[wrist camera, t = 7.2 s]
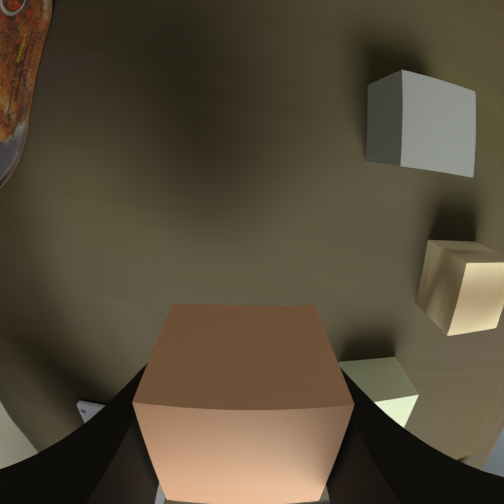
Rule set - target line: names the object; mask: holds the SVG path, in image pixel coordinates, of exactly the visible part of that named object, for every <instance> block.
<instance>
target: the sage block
mask: <svg viewBox="0 0 504 504" xmlns="http://www.w3.org/2000/svg"><path fill="white" fill-rule="evenodd" d="M339 366H340V367H341V369H342V370H343V371H344V372H345V373H346V374H347V375H348V376H349V377H350V378H351V379H352V380H353V381H354V382H355V383H356V385H357V386H358V387H359V388H360V389H361V390H362V391H363V392H364V393H365V394H366V395H367V396H368V397H369V398H370V399H371V400H372V401H373V402H374V403H375V404H376V405H377V406H379V407H380V408H381V409H382V410H383V411H384V412H385V413H386V414H387V415H389V416H390V417H391V418H392V419H393V420H394V421H396V422H397V423H398V424H399V425H401V426H402V427H403V428H404V426H405V424H406V422H407V420H408V417H409V415H410V413H411V411H412V409H413V406H414V404H415V402H416V400H417V397H418V395H419V394H418V393H417V391H416V390H415V388H414V386H413V385H412V383H411V381H410V380H409V378H408V377H407V375H406V373H405V372H404V370H403V369H402V367H401V365H400V364H399V362H398V361H397V359H396V357H388V358H378V359H367V360H356V361H342V362H339Z"/></svg>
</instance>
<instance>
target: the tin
mask: <svg viewBox="0 0 504 504" xmlns="http://www.w3.org/2000/svg"><path fill="white" fill-rule="evenodd" d="M52 7H53V0H0V188H1V187H2V186H3V185H4V184H5V183H6V182H7V181H8V179H9V178H10V176H11V175H12V173H13V172H14V170H15V168H16V167H17V165H18V163H19V160H20V158H21V155H22V153H23V150H24V147H25V144H26V140H27V136H28V130H29V122H30V114H31V107H32V101H33V94H34V88H35V83H36V78H37V73H38V68H39V64H40V60H41V56H42V52H43V48H44V44H45V40H46V37H47V33H48V30H49V26H50V22H51V17H52Z"/></svg>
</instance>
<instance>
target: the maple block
mask: <svg viewBox="0 0 504 504" xmlns="http://www.w3.org/2000/svg"><path fill="white" fill-rule="evenodd" d="M416 304H417V305H418V306H419V307H420V308H421V309H422V310H423V311H424V312H425V313H426V314H427V315H428V316H429V317H430V318H431V319H432V321H433V322H434V323H435V324H436V325H437V326H438V327H439V328H440V329H441V330H442V331H443V332H444V333H445V334H446V335H447V336H450V335H457V334H463V333H469V332H475V331H481V330H487V329H492V328H496V326H497V323H498V320H499V317H500V314H501V311H502V308H503V305H504V256H502V255H500V254H499V253H497V252H495V251H493V250H491V249H489V248H487V247H485V246H483V245H481V244H479V243H477V242H472V241H446V240H428V242H427V248H426V254H425V259H424V265H423V270H422V275H421V280H420V285H419V289H418V294H417V298H416Z"/></svg>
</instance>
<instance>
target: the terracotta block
mask: <svg viewBox="0 0 504 504" xmlns="http://www.w3.org/2000/svg"><path fill="white" fill-rule="evenodd" d="M132 403H133V406H134V410H135V413H136V416H137V420H138V423H139V426H140V429H141V432H142V435H143V438H144V441H145V444H146V447H147V450H148V453H149V456H150V458H151V461H152V464H153V467H154V469H155V472H156V474H157V477H158V480H159V482H160V485H161V487H162V490H163V492H164V494H165V497H166V499H167V500H175V501H184V502H195V503H208V504H286V503H300V502H310V501H319V498H320V496H321V494H322V492H323V489H324V487H325V484H326V482H327V480H328V477H329V475H330V472H331V470H332V467H333V465H334V462H335V459H336V457H337V454H338V451H339V449H340V446H341V443H342V440H343V437H344V435H345V432H346V429H347V426H348V423H349V420H350V417H351V414H352V411H353V407H354V402H353V400H352V397H351V394H350V392H349V389H348V387H347V384H346V382H345V379H344V377H343V374H342V372H341V369H340V367H339V364H338V362H337V359H336V357H335V354H334V352H333V349H332V347H331V344H330V342H329V339H328V337H327V335H326V332H325V330H324V327H323V325H322V323H321V320H320V318H319V315H318V313H317V311H316V308H315V306H239V305H197V304H172V306H171V309H170V311H169V313H168V315H167V318H166V320H165V323H164V325H163V327H162V330H161V332H160V334H159V337H158V339H157V342H156V344H155V346H154V349H153V351H152V354H151V356H150V359H149V361H148V364H147V366H146V369H145V371H144V374H143V376H142V379H141V381H140V384H139V386H138V389H137V391H136V394H135V397H134V399H133V402H132Z"/></svg>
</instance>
